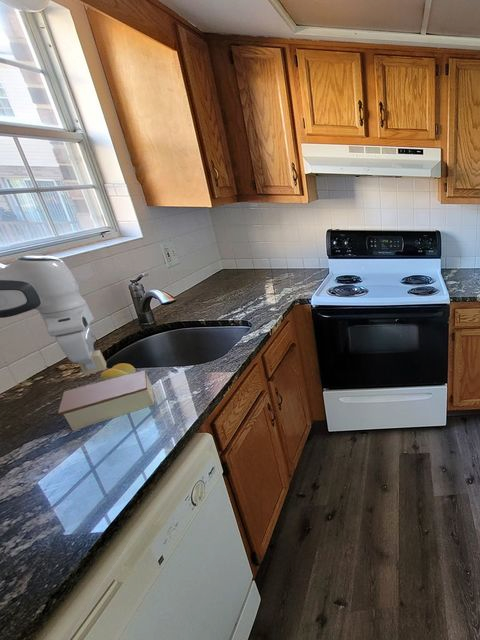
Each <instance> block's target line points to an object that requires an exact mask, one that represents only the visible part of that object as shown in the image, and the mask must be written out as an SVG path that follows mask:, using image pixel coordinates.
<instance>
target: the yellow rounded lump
mask: <svg viewBox="0 0 480 640" xmlns="http://www.w3.org/2000/svg"><path fill="white" fill-rule="evenodd" d="M135 369H136V368H135V367H134V366H133V365H132V364H130V363H125V362H123V363H122V362H121V363H117V364H115V365H113V366H112V367H111V368H107V369H106V370H102V371H101V373H100V375H99V379H100V382H102V381H106V380H110V379H113V378H117V377H121V376H125V375H129V374H132V373H136V372H137V369H136V370H135Z"/></svg>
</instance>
